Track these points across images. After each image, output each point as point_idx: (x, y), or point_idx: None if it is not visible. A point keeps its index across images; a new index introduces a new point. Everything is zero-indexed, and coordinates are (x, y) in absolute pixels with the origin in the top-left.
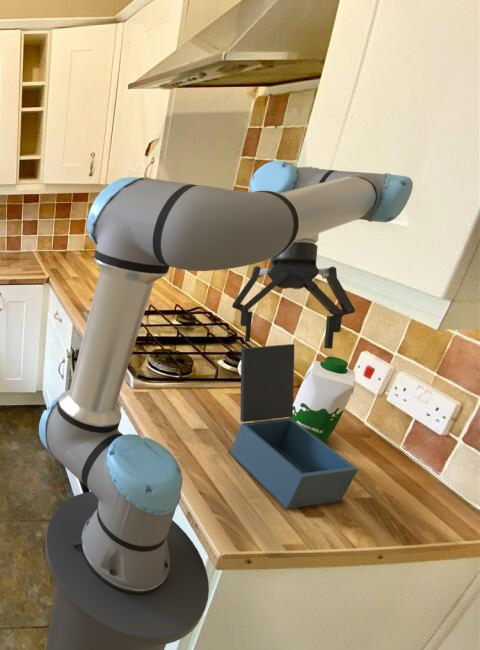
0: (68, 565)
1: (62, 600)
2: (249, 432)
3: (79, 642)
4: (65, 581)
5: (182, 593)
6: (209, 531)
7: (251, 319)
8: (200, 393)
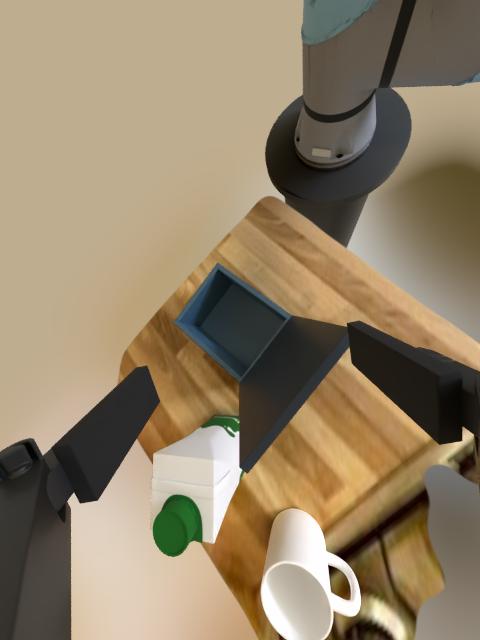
0: None
1: None
2: (280, 307)
3: None
4: None
5: (280, 149)
6: (280, 200)
7: (402, 354)
8: (381, 455)
